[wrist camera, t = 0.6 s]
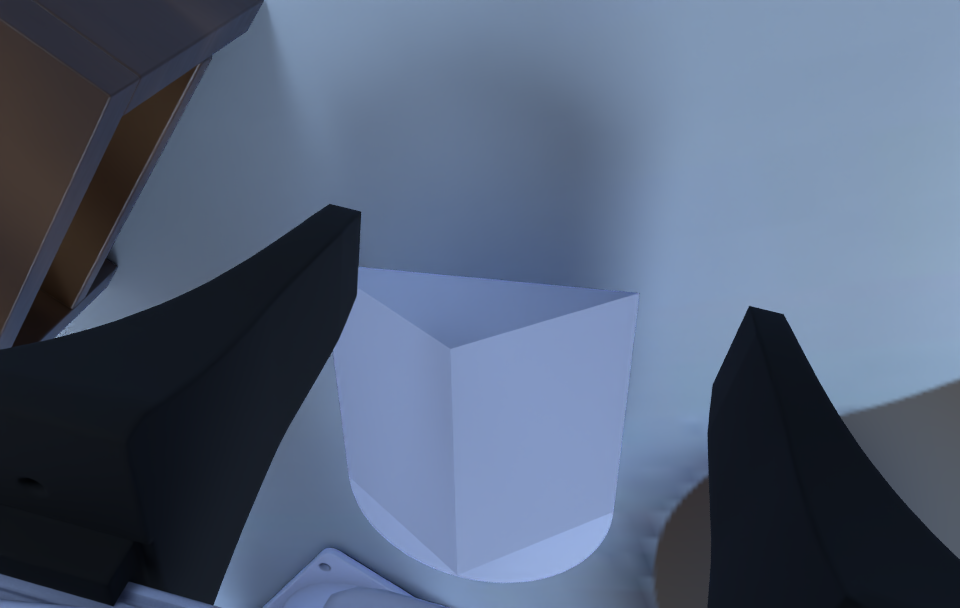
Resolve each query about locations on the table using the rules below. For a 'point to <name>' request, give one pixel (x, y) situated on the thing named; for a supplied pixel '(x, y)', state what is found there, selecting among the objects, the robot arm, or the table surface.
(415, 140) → the table surface
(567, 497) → the wedge on round base
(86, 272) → the walnut stand
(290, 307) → the robot arm
